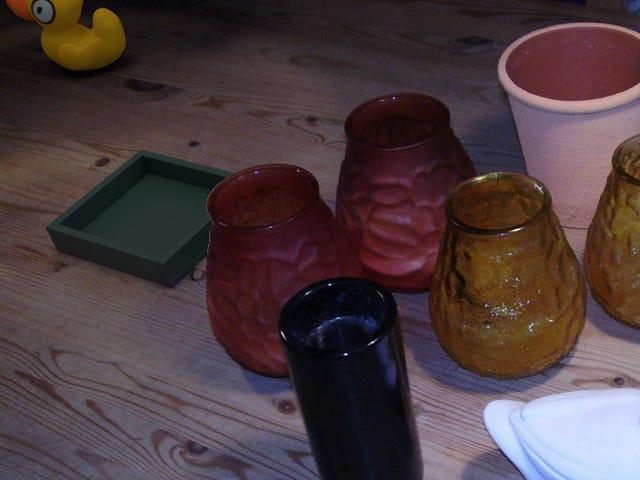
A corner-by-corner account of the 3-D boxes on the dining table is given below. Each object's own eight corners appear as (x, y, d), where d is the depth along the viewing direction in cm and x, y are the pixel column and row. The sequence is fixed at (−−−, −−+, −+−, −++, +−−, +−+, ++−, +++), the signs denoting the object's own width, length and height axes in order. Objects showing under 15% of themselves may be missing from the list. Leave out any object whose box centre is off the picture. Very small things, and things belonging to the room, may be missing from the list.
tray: (56, 250, 89) (45, 227, 87) (150, 171, 96) (140, 148, 94) (173, 287, 84) (162, 263, 82) (262, 201, 91) (254, 177, 89)
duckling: (29, 82, 111) (-11, -4, 104) (47, 57, 115) (9, -27, 108) (126, 76, 110) (92, -11, 103) (141, 52, 114) (109, -34, 107)
